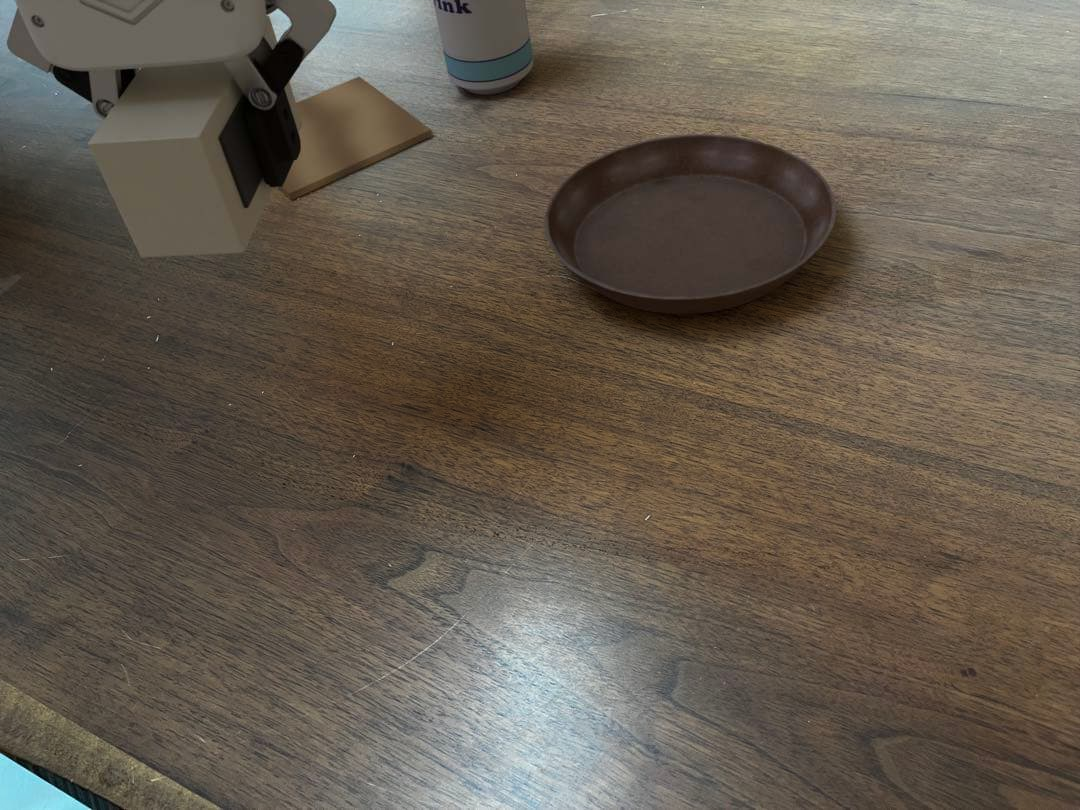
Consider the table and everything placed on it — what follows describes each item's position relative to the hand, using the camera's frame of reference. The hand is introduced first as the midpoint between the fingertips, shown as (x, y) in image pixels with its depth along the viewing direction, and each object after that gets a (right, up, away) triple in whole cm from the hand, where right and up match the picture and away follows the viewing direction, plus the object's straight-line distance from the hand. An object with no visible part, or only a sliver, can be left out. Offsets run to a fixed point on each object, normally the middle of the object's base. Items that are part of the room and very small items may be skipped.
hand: (223, 171), depth 52 cm
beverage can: (+11, +15, +35) cm, 40 cm away
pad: (-1, +10, +32) cm, 33 cm away
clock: (0, -1, +1) cm, 1 cm away
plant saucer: (+25, -1, +17) cm, 30 cm away
